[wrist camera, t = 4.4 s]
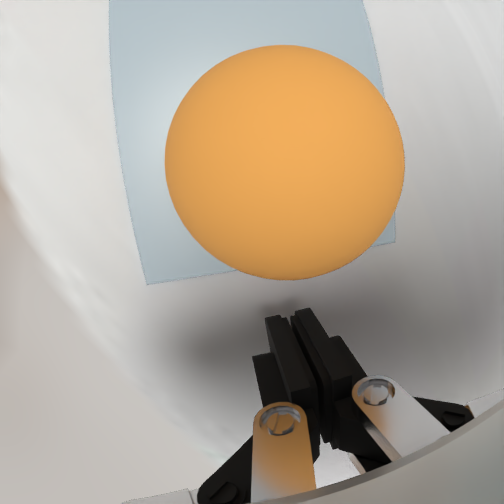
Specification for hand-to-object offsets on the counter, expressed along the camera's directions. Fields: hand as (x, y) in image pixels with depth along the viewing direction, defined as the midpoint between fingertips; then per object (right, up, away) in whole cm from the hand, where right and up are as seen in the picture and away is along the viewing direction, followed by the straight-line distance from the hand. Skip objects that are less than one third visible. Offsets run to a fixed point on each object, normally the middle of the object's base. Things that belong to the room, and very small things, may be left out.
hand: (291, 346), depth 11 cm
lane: (-3, +20, -5) cm, 21 cm away
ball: (-1, +6, -3) cm, 7 cm away
